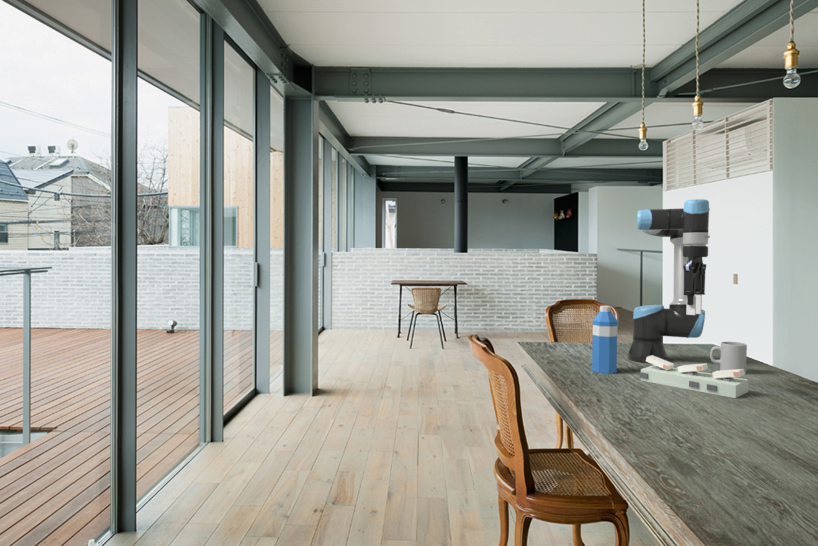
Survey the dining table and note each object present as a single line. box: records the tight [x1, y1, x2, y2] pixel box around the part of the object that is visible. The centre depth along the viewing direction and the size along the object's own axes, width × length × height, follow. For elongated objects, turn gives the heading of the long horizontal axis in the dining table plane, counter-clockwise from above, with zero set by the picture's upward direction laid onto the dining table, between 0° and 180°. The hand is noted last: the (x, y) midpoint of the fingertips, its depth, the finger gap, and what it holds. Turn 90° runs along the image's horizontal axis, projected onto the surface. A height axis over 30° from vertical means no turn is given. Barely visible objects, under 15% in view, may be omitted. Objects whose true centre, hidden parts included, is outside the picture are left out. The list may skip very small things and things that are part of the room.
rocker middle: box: [676, 363, 709, 372], centre depth 177 cm, size 8×4×2 cm, turn 40°
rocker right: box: [711, 369, 746, 378], centre depth 169 cm, size 8×5×2 cm, turn 40°
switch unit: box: [639, 364, 749, 399], centre depth 177 cm, size 30×12×5 cm, turn 41°
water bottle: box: [591, 305, 618, 375], centre depth 199 cm, size 9×9×25 cm
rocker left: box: [645, 355, 675, 370], centre depth 186 cm, size 8×5×2 cm, turn 41°
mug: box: [709, 341, 748, 375], centre depth 199 cm, size 12×8×11 cm
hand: (693, 314), depth 177 cm, fingers open, 4 cm apart
